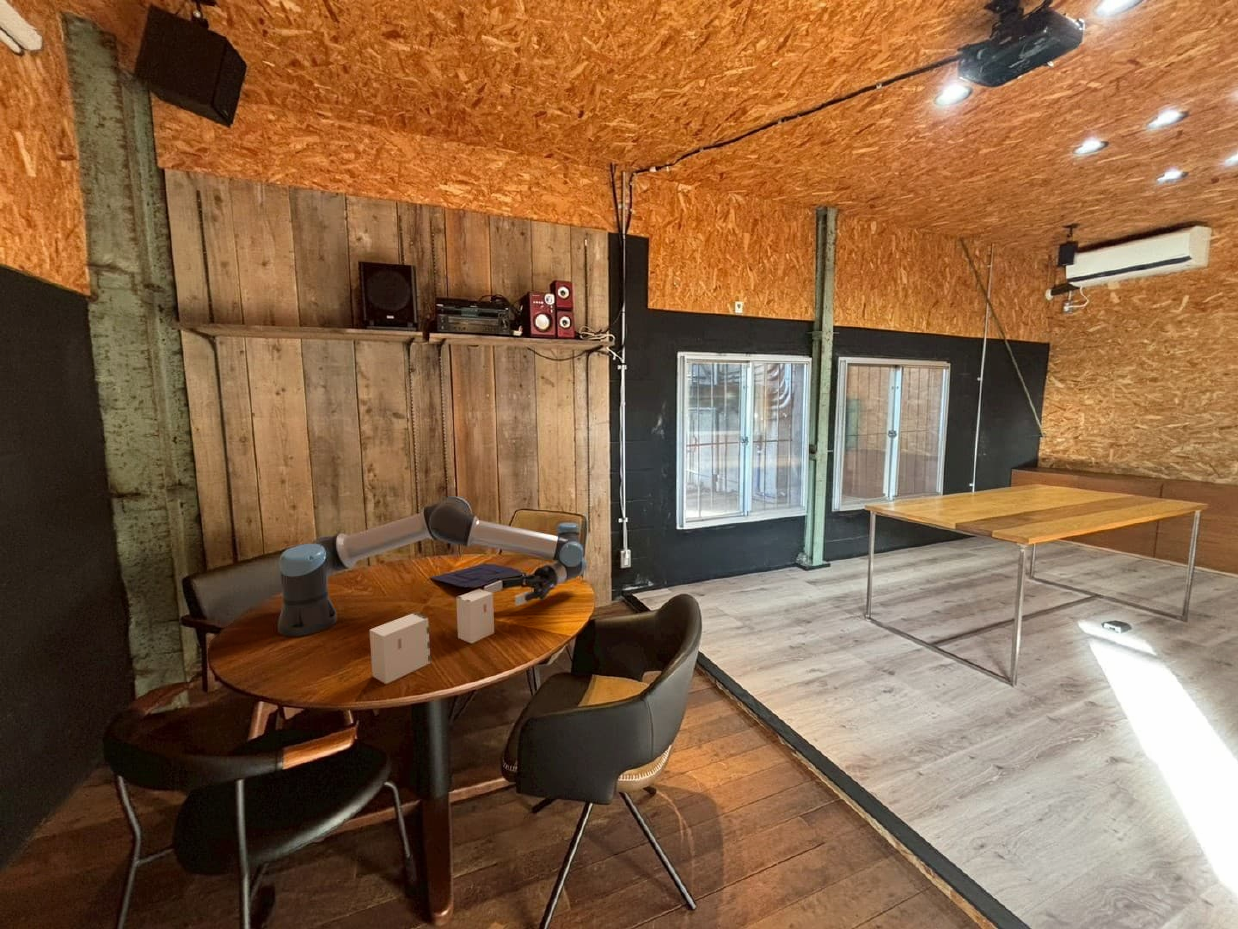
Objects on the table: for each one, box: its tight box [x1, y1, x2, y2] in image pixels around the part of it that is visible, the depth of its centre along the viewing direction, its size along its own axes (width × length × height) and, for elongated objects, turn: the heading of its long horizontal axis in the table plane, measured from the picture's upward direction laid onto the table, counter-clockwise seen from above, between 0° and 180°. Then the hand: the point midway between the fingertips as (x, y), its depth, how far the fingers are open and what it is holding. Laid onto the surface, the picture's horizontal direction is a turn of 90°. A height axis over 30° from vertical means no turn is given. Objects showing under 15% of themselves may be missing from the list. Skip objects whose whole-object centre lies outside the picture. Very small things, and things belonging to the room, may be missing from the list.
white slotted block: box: [369, 612, 431, 685], centre depth 128 cm, size 6×12×12 cm, turn 144°
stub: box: [456, 588, 495, 644], centre depth 147 cm, size 6×8×12 cm
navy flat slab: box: [430, 563, 524, 589], centre depth 192 cm, size 24×30×4 cm
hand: (499, 596), depth 154 cm, fingers open, 13 cm apart
